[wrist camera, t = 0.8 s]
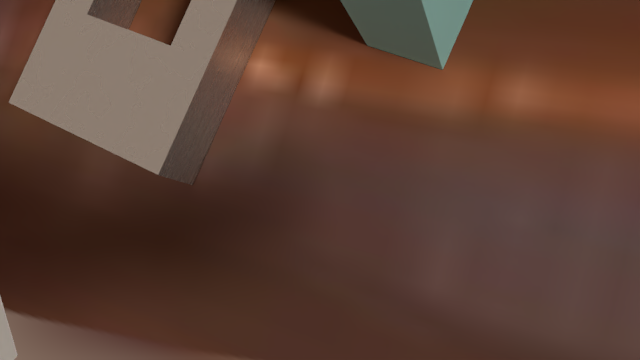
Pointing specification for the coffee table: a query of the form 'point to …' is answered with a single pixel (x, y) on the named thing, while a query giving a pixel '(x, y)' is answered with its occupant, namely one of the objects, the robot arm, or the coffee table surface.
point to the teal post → (410, 26)
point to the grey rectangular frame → (141, 78)
